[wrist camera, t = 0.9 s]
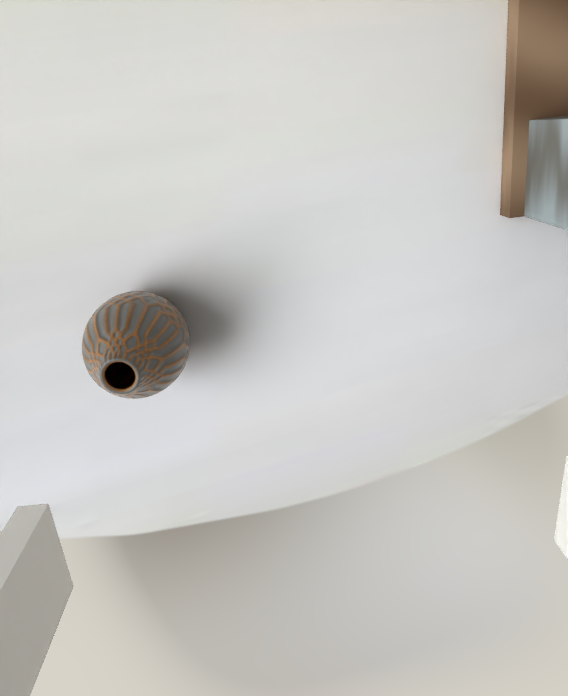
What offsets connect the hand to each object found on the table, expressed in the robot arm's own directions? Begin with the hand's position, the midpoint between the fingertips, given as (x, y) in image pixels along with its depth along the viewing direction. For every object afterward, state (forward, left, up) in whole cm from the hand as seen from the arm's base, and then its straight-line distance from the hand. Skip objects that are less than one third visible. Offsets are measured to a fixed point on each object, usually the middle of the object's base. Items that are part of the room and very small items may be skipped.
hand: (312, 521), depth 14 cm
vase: (+3, -10, -27) cm, 29 cm away
